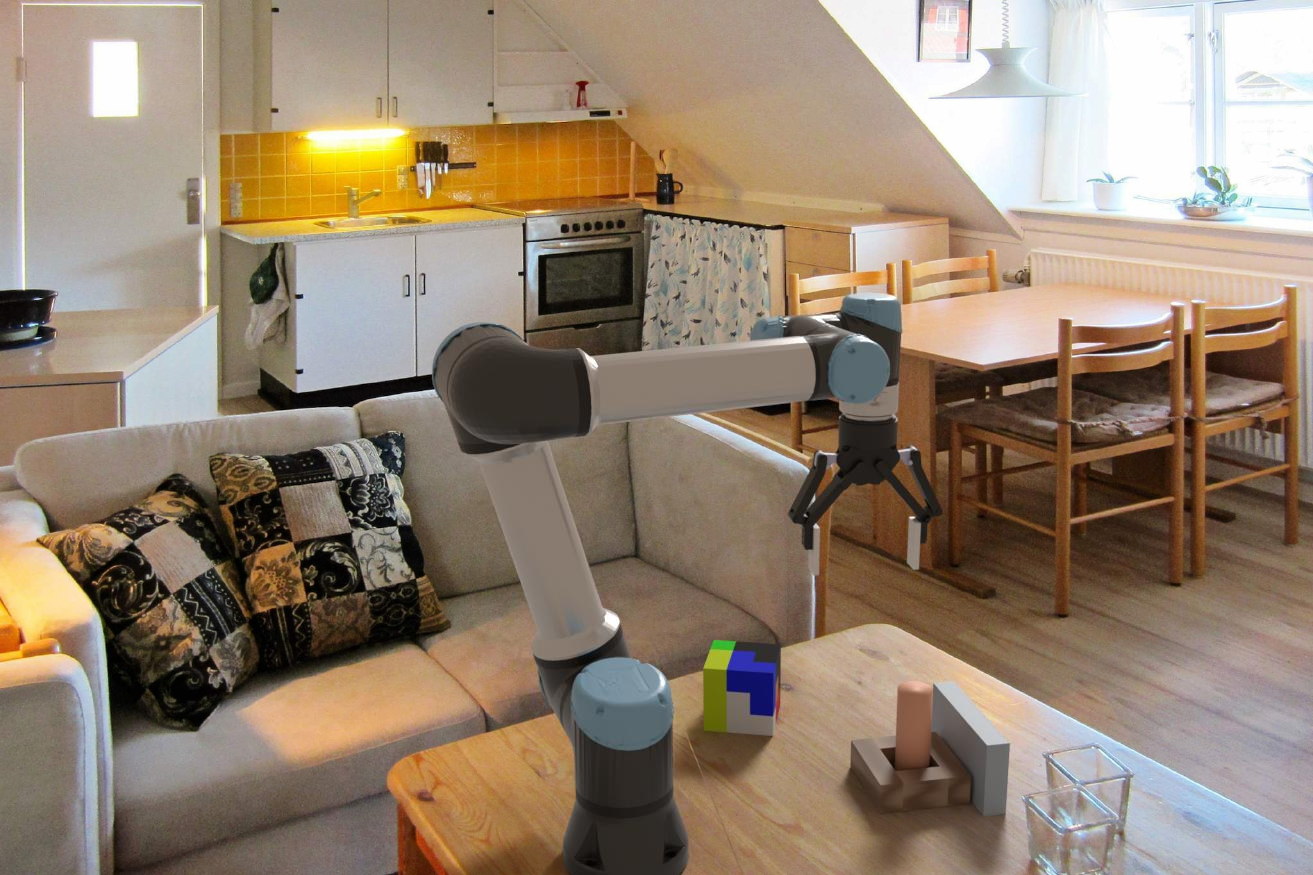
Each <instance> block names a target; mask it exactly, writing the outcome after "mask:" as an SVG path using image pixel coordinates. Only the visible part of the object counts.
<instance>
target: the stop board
mask: <svg viewBox="0 0 1313 875" xmlns="http://www.w3.org/2000/svg"><path fill="white" fill-rule="evenodd" d="M932 684H933V685H932V688H933V703H932V727H931V732H936V733H937V734H938V735H939V736H940V738H941V739H942V740H943V741H944V743H945V744H946V745H947V746H948V748H949V749H950V750H951V751H952V753H953V754H954V755H955V756H956V758H957V759H958V760H959V761H960V763H961V764H962V765H963V766H964V768H965V769H966V770H967V771H968V773H969V774H970V775H971V785H970V801H971V802H972V803H973V805H974V806H975V807H976V809H977V810H978V811H979V813H980V814H981V816H983V817H988V816H996V815H1005V814H1006V813H1007V799H1008V782H1009V767H1010V766H1009V765H1010V749H1011V748H1010V747H1011V743H1010V741H1009V740H1008V739H1007V738H1006V737H1005V736H1004V735H1003V734H1002V733H1001V731H1000V730H999V729H998V728H997V727H996V726H995V725H994V724H993V722H992V721H991V720H990V719H989V718H988V717H987V716H986V715H985V714H984V712H982V710H981V709H980V708H979V707H978V706H977V705H976V704H975V703H974V701H973V700H972V699H971V698H970V697H969V696H968V695H967V694H966V692H965V691H964V690H963V689H962V688H961V687H960V686H959V684H957V683H956V681H955V680H949V681H948V680H947V681H938V682H933V683H932Z"/></svg>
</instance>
